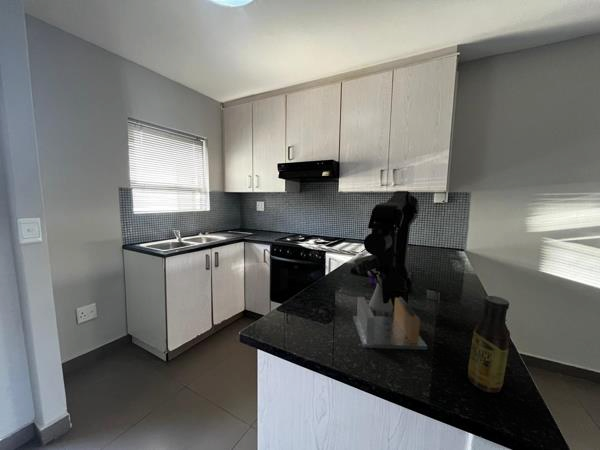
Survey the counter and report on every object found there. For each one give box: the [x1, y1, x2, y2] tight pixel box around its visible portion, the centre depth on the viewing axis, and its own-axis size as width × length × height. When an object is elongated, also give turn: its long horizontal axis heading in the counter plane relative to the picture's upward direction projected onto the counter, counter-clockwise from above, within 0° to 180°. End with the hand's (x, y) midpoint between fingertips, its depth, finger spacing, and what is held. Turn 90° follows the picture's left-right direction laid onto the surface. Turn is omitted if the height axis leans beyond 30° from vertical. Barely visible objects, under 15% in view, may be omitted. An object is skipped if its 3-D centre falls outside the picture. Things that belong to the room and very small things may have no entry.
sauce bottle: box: [467, 295, 511, 394], centre depth 54 cm, size 6×6×20 cm
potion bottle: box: [368, 271, 376, 287], centre depth 115 cm, size 9×9×12 cm
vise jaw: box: [393, 297, 421, 343], centre depth 75 cm, size 2×14×8 cm, turn 178°
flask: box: [368, 274, 394, 313], centre depth 74 cm, size 7×7×10 cm
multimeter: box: [350, 264, 369, 278], centre depth 130 cm, size 13×19×5 cm
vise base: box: [352, 296, 428, 351], centre depth 75 cm, size 17×16×8 cm
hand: (382, 299), depth 74 cm, fingers closed on flask, 5 cm apart
